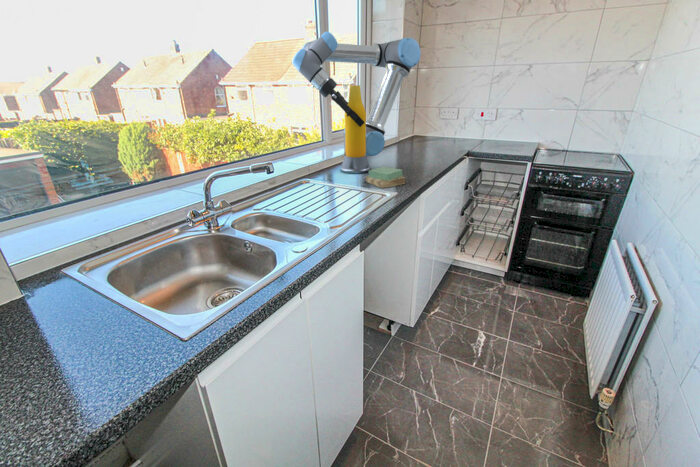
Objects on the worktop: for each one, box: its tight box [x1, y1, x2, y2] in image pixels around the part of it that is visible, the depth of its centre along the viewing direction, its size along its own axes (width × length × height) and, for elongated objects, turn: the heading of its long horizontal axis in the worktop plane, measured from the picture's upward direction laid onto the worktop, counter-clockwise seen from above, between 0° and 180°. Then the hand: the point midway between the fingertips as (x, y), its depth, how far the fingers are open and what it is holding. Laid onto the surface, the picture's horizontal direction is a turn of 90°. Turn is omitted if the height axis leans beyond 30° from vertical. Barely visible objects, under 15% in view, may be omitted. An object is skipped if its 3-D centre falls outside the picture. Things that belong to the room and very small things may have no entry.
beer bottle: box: [344, 84, 367, 157], centre depth 143 cm, size 9×9×29 cm
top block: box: [368, 166, 403, 181], centre depth 151 cm, size 11×11×3 cm
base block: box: [365, 174, 406, 189], centre depth 153 cm, size 13×13×3 cm
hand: (362, 123), depth 143 cm, fingers closed on beer bottle, 9 cm apart
